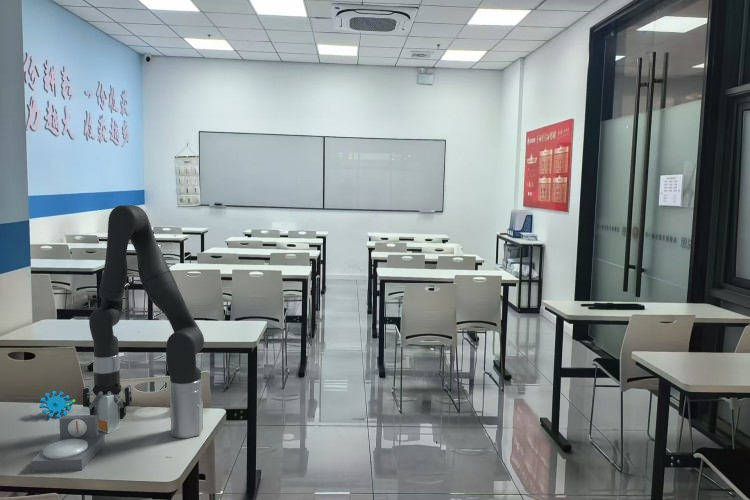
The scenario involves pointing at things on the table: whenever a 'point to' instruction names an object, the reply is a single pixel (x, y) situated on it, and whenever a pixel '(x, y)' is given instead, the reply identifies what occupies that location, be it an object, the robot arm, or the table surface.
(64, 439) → the dial scale
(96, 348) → the robot arm
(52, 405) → the gear
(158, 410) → the table surface
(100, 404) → the skincare box
